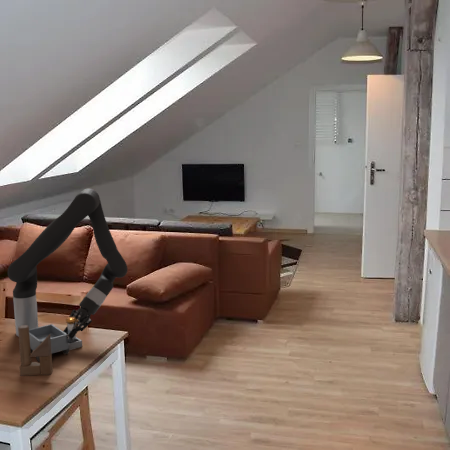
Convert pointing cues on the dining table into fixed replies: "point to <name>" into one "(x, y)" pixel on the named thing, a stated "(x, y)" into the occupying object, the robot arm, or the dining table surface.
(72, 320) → the pin
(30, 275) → the robot arm
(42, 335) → the grey tray with sleeve
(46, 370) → the brown wooden stand
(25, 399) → the dining table surface
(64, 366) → the dining table surface
